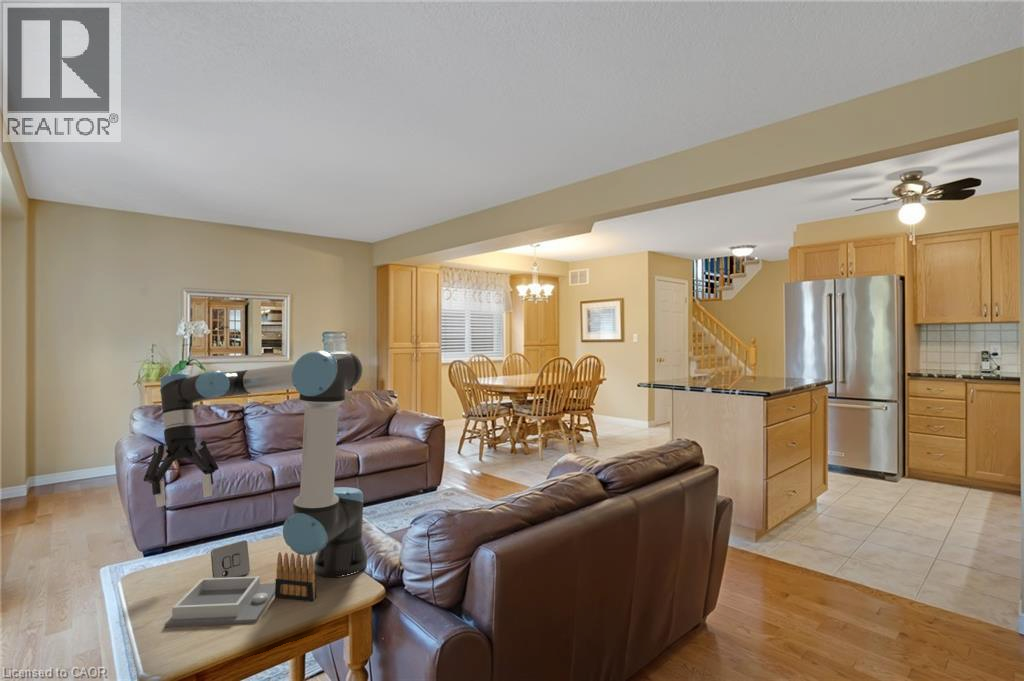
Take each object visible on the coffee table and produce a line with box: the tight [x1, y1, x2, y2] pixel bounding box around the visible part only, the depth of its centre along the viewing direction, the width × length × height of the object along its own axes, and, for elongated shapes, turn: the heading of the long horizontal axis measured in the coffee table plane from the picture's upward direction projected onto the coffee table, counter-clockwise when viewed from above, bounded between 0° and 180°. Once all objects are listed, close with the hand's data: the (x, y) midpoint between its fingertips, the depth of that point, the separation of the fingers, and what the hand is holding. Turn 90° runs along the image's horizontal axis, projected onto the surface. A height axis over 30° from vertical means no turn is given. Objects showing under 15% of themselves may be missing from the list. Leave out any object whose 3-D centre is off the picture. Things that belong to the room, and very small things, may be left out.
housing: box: [164, 575, 275, 628], centre depth 127 cm, size 20×18×4 cm
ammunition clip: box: [274, 551, 317, 603], centre depth 131 cm, size 11×2×12 cm, turn 82°
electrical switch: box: [210, 539, 251, 578], centre depth 142 cm, size 9×5×9 cm, turn 141°
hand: (185, 501), depth 142 cm, fingers open, 13 cm apart
